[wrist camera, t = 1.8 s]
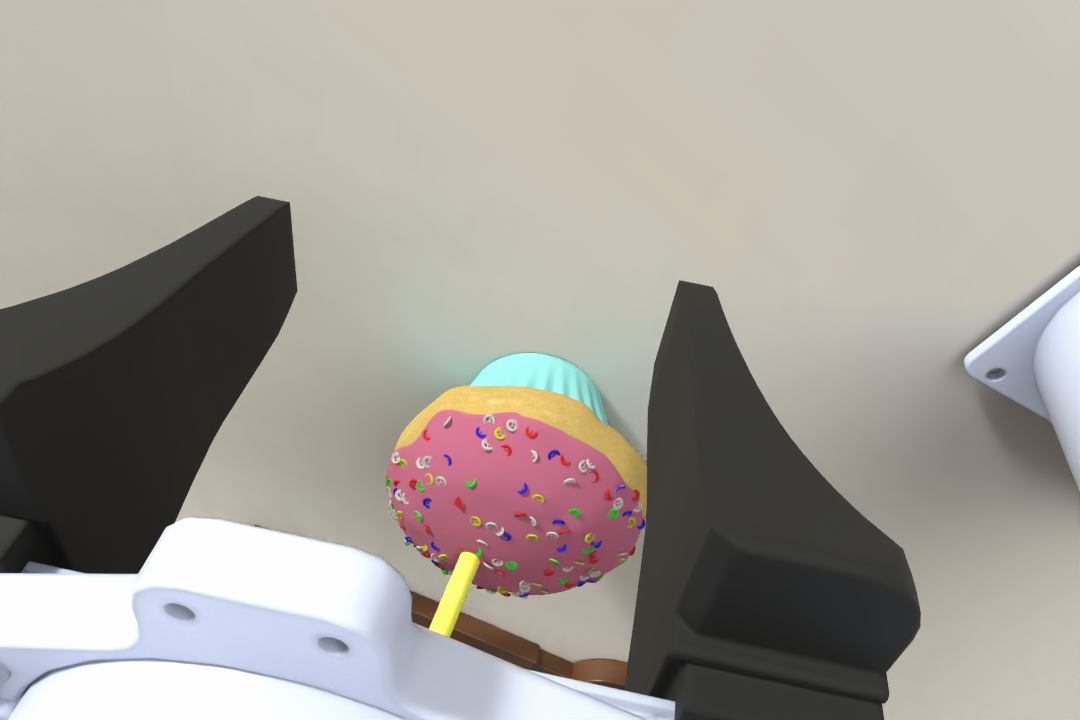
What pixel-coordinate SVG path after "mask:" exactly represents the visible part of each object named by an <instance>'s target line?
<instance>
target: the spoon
mask: <svg viewBox="0 0 1080 720" xmlns="http://www.w3.org/2000/svg"><path fill="white" fill-rule="evenodd" d="M255 526H256V525H255ZM256 527H259V526H256ZM410 593H411V596H412V609H411V617H412V622H413V623H416V624H418V625H421V626H423V627H425V628H428V629H429V628H430V625H431V623H432V621H433V618H434V616H435V613H436V611H437V609H438V606H439V604H440V603H437V602H435V601H433V600H430V599H428V598H426V597H423V596H421V595H419V594H416V593H414V592H412V591H410ZM450 638H452V639H454V640H457V641H459V642H461V643H464V644H466V645H469V646H471V647H473V648H476V649H478V650H481V651H483V652H486V653H488V654H490V655H493V656H495V657H498V658H500V659H502V660H505V661H507V662H510V663H512V664H514V665H517V666H519V667H522V668H524V669H527V670H532V671H537V672H541V673H546V674H550V675H555V676H560V677H564V678H569V679H573V680H578V681H583V682H587V683H592V684H596V685H601V686H606V687H610V688H615V689H619V690H624V686H625V680H626V673H627V666H628V663H624V662H620V661H614V660H605V659H594V660H585V661H581V662H578V663H575V664H573V663H571V662H569V661H566V660H564V659H561V658H559V657H557V656H554V655H552V654H550V653H547V652H545V651H543V650H540V649H539V645H536V644H534V643H532V642H529V641H527V640H525V639H522V638H520V637H517V636H515V635H513V634H510V633H508V632H506V631H503V630H501V629H499V628H496V627H494V626H492V625H489V624H487V623H485V622H482V621H480V620H477V619H475V618H473V617H470V616H468V615H466V614H463V613H461V612H460V613H459V616H458V618H457V621H456V623H455V626H454V628H453V631H452V633H451V636H450Z"/></svg>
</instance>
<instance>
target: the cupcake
mask: <svg viewBox="0 0 1080 720" xmlns="http://www.w3.org/2000/svg"><path fill="white" fill-rule="evenodd" d="M386 485H387V486H388V487H387V492H388V495H389V497H390V503H389V507H388V508H389V509H390V507H391V504H392V507H393V510H392V511H391V516H392V517H393V518H394V519H396V520H397V522H398V523H399V525H400V527H401V528H402V529H403V531H404V532H405V534H406V537H405V542H404V543H405V545H410V544H411V543H413V544H414V547H416V549H417V550H418V551H420V553H421V555H423V556H425V557H426V558H431V559H432V560H431V561H432V562H433V563H434V565H435V566H437V567H439V568H441V571H442V573H443V574H445V575H448V574H449V575H452V576H451V578H450V580H449V583H448V585H447V588H446V590H445V592H444V595H443V597H442V599H441V602H440V604H439V606H438V609H437V611H436V613H435V616H434V618H433V621H432V623H431V625H430V628H429V629H430V630H433V631H435V632H437V633H440V634H442V635H445V636H447V637H449V638H450V636H451V633H452V631H453V628H454V626H455V623H456V621H457V618H458V616H459V613H460V611H461V608H462V606H463V603H464V601H465V598H466V596H467V594H468V591H469V589H470V586H471V584H475V585H477V587H476V588H477V589H486V591H487V592H489V593H491V594H494V593H496V591H498V592H499V593H501V594H502V595H504V596H507V597H509V596H510V595H511V594H513V595H515V596H517V597H521V598H524V599H526V598H527V595H544V594H551V593H557V592H562V591H565V590H568V589H571V588H574V587H577V586H578V587H580V586H582V585H583V584H584V583H586V582H591V583H595V582H597V581H599V580H600V579H601V578H602V577H603V575H604V574H605V573H607V572H609V571H610V570H612V569H614V568H615V567H617V566H618V565H620V564H622V563H624V562H625V560H626V559H627V558H628V557H629V555H631V556H632V555H633V553H634V551H635V543H636V541H637V538H638V536H639V534H640V531H641V529H642V528H644V526H645V520H644V519H645V516H646V511H647V465H646V463H645V461H644V459H643V458H642V456H641V455H640V454H639V453H638V452H637V451H636V450H635V449H634V448H633V447H632V446H631V445H630V444H629V442H628V441H627V440H626V439H625V438H624V437H623V436H622V435H621V434H620V433H619V432H617V431H616V430H614V429H613V428H611V427H609V424H608V421H607V417H606V413H605V409H604V405H603V401H602V397H601V395H600V392H599V390H598V388H597V387H596V385H595V384H594V382H593V381H592V380H591V379H590V378H589V377H588V376H587V375H586V374H585V373H584V372H583V371H581V370H580V369H579V368H577V367H576V366H574V365H572V364H570V363H568V362H566V361H564V360H562V359H559V358H556V357H553V356H549V355H544V354H537V353H520V354H513V355H509V356H505V357H503V358H500V359H498V360H496V361H494V362H492V363H491V364H489V365H488V366H487V367H485V368H484V369H483V370H482V371H481V372H480V374H479V375H478V376H477V377H476V379H475V380H474V381H473V382H472V383H471V385H470V386H458V387H454V388H451V389H449V390H447V391H446V392H444V393H443V394H442V395H441V396H439V397H438V398H437V399H436V400H435V401H434V402H433V403H431V404H430V405H429V406H428V407H426V408H425V409H424V410H423V411H421V412H420V413H419V414H418V415H417V416H416V417H415V418H414V419H413V420H412V421H411V422H410V423H409V425H408V426H407V427H406V428H405V429H404V431H403V432H402V434H401V436H400V438H399V440H398V442H397V444H396V447H395V450H394V452H393V454H392V456H391V458H390V462H389V466H388V473H387V476H386ZM393 513H394V514H395V516H394V514H393ZM408 542H409V543H408ZM444 570H446V571H447V572H445V571H444ZM507 594H508V595H507Z"/></svg>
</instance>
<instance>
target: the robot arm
mask: <svg viewBox="0 0 1080 720" xmlns="http://www.w3.org/2000/svg"><path fill="white" fill-rule="evenodd" d="M296 293H297V282H296V271H295V259H294V247H293V235H292V224H291V212H290V202H285V201H280V200H275V199H270V198H265V197H260V196H256V197H254V198H252V199H250V200H248V201H246V202H244V203H243V204H241V205H239V206H237V207H235V208H234V209H232V210H230V211H228V212H226V213H225V214H223V215H221V216H219V217H218V218H216V219H214V220H212V221H211V222H209V223H207V224H205V225H204V226H202V227H200V228H198V229H196V230H194V231H193V232H191V233H189V234H187V235H185V236H184V237H182V238H180V239H178V240H176V241H175V242H173V243H171V244H169V245H167V246H165V247H163V248H161V249H159V250H157V251H155V252H153V253H151V254H149V255H147V256H145V257H142V258H140V259H138V260H136V261H134V262H132V263H130V264H128V265H126V266H124V267H122V268H120V269H117V270H115V271H113V272H110V273H108V274H106V275H103V276H101V277H98V278H96V279H93V280H91V281H88V282H85V283H83V284H80V285H77V286H75V287H72V288H69V289H66V290H64V291H60V292H57V293H54V294H51V295H47V296H44V297H41V298H38V299H34V300H31V301H28V302H25V303H21V304H18V305H15V306H11V307H8V308H4V309H0V720H884V715H883V708H882V703H884V704H885V702H886V701H887V700H888V697H889V688H888V682H887V675H886V672H887V671H888V670H889V668H890V667H891V666H892V665H893V664H894V662H895V661H896V660H897V659H898V657H899V656H900V655H901V654H902V653H903V651H904V650H905V649H906V648H907V647H908V645H909V644H910V643H911V642H912V641H913V639H914V637H915V635H916V634H917V632H918V630H919V628H920V616H921V612H920V607H919V602H918V597H917V592H916V588H915V584H914V581H913V577H912V574H911V571H910V568H909V566H908V563H907V560H906V557H905V554H904V550H903V549H902V548H901V547H900V546H899V545H897V544H896V543H895V542H894V541H893V540H891V539H890V538H889V537H888V536H887V535H885V534H884V533H883V532H882V531H881V530H879V529H878V528H877V527H876V526H875V525H873V524H872V523H871V522H870V521H868V520H867V519H866V518H865V517H864V516H863V515H861V514H860V513H859V512H858V511H857V510H856V509H855V508H854V507H853V506H852V505H851V504H850V503H849V502H848V501H847V500H846V499H845V498H844V497H843V496H841V495H840V494H839V493H838V492H837V491H836V490H835V489H834V488H833V487H832V485H831V484H830V483H829V482H828V481H827V480H826V479H825V478H824V477H823V476H822V475H821V474H820V473H819V471H818V470H817V469H816V468H815V467H814V466H813V464H812V463H811V462H810V461H809V460H808V459H807V458H806V456H805V455H804V454H803V453H802V452H801V450H800V449H799V448H798V447H797V445H796V444H795V443H794V442H793V440H792V439H791V438H790V436H789V435H788V433H787V432H786V431H785V429H784V428H783V426H782V425H781V424H780V422H779V421H778V419H777V418H776V416H775V414H774V413H773V411H772V410H771V408H770V406H769V405H768V403H767V402H766V400H765V398H764V396H763V395H762V393H761V391H760V389H759V388H758V386H757V384H756V382H755V380H754V379H753V377H752V375H751V373H750V371H749V369H748V367H747V365H746V363H745V361H744V359H743V357H742V354H741V352H740V350H739V348H738V346H737V344H736V342H735V339H734V337H733V335H732V332H731V330H730V327H729V325H728V323H727V320H726V317H725V315H724V312H723V310H722V307H721V304H720V301H719V298H718V295H717V293H716V291H715V290H714V288H713V287H710V286H705V285H700V284H695V283H690V282H685V281H680V280H679V283H678V286H677V290H676V293H675V296H674V300H673V303H672V306H671V310H670V313H669V317H668V320H667V323H666V327H665V330H664V333H663V337H662V340H661V343H660V347H659V350H658V354H657V357H656V360H655V364H654V371H653V378H652V384H651V392H650V399H649V406H648V434H647V511H646V527H645V537H644V546H643V554H642V562H641V570H640V578H639V586H638V593H637V601H636V609H635V616H634V624H633V631H632V638H631V645H630V652H629V659H628V666H627V673H626V680H625V686H624V690H619V689H615V688H610V687H606V686H601V685H596V684H592V683H587V682H583V681H578V680H573V679H569V678H564V677H560V676H555V675H550V674H546V673H541V672H537V671H532V670H527V669H524V668H522V667H519V666H517V665H514V664H512V663H510V662H507V661H505V660H502V659H500V658H498V657H495V656H493V655H490V654H488V653H486V652H483V651H481V650H478V649H476V648H473V647H471V646H469V645H466V644H464V643H461V642H459V641H457V640H454V639H452V638H449V637H447V636H445V635H442V634H440V633H437V632H435V631H433V630H430V629H428V628H425V627H423V626H421V625H418V624H416V623H413V622H412V617H411V609H412V596H411V593H410V591H409V588H408V586H407V583H406V581H405V578H404V577H403V576H402V574H401V573H399V572H398V571H397V570H396V569H394V568H393V567H392V566H391V565H389V564H388V563H387V562H386V561H384V560H383V559H382V558H381V557H378V556H375V555H373V554H370V553H367V552H364V551H362V550H359V549H356V548H354V547H350V546H345V545H340V544H335V543H331V542H326V541H321V540H317V539H312V538H307V537H303V536H298V535H293V534H289V533H284V532H279V531H275V530H270V529H265V528H261V527H256V526H251V525H247V524H242V523H237V522H233V521H228V520H223V519H219V518H200V517H189V518H184V519H182V520H180V521H178V522H176V523H175V521H176V519H177V516H178V514H179V512H180V510H181V507H182V505H183V503H184V501H185V498H186V496H187V494H188V492H189V489H190V487H191V485H192V483H193V480H194V478H195V476H196V474H197V472H198V470H199V468H200V466H201V464H202V462H203V460H204V458H205V455H206V453H207V451H208V449H209V447H210V445H211V443H212V441H213V439H214V437H215V435H216V434H217V432H218V430H219V428H220V427H221V425H222V423H223V421H224V420H225V418H226V417H227V415H228V414H229V412H230V410H231V409H232V407H233V406H234V404H235V403H236V401H237V399H238V398H239V396H240V395H241V393H242V392H243V390H244V388H245V387H246V385H247V384H248V382H249V381H250V379H251V377H252V376H253V374H254V373H255V371H256V370H257V368H258V366H259V365H260V363H261V362H262V360H263V358H264V357H265V355H266V354H267V352H268V350H269V349H270V347H271V346H272V344H273V342H274V341H275V339H276V337H277V336H278V334H279V332H280V330H281V327H282V325H283V323H284V321H285V319H286V316H287V314H288V312H289V309H290V307H291V305H292V302H293V300H294V297H295V295H296ZM963 363H964V366H965V369H966V372H967V374H968V375H969V376H970V377H972V378H974V379H976V380H978V381H979V382H981V383H983V384H985V385H986V386H988V387H990V388H992V389H993V390H995V391H997V392H999V393H1001V394H1002V395H1004V396H1006V397H1008V398H1009V399H1011V400H1013V401H1015V402H1016V403H1018V404H1020V405H1022V406H1024V407H1025V408H1027V409H1029V410H1031V411H1032V412H1034V413H1036V414H1038V415H1040V416H1041V417H1043V418H1045V419H1047V420H1048V421H1050V422H1052V425H1053V427H1054V430H1055V432H1056V435H1057V437H1058V440H1059V442H1060V445H1061V447H1062V450H1063V452H1064V455H1065V457H1066V460H1067V462H1068V465H1069V467H1070V470H1071V472H1072V475H1073V477H1074V480H1075V482H1076V485H1077V487H1078V490H1079V492H1080V266H1078V267H1077V268H1076V269H1074V270H1073V271H1072V272H1071V273H1069V274H1068V275H1067V276H1066V277H1064V278H1063V279H1062V280H1061V281H1059V282H1058V283H1057V284H1056V285H1054V286H1053V287H1052V288H1050V289H1049V290H1048V291H1047V292H1045V293H1044V294H1043V295H1042V296H1040V297H1039V298H1038V299H1037V300H1035V301H1034V302H1033V303H1032V304H1030V305H1029V306H1028V307H1026V308H1025V309H1024V310H1023V311H1021V312H1020V313H1019V314H1018V315H1016V316H1015V317H1014V318H1013V319H1011V320H1010V321H1009V322H1008V323H1006V324H1005V325H1004V326H1002V327H1001V328H1000V329H999V330H997V331H996V332H995V333H994V334H992V335H991V336H990V337H989V338H987V339H986V340H985V341H984V342H982V343H981V344H980V345H978V346H977V347H976V348H975V349H973V350H972V351H971V352H970V353H968V355H967V356H966V357H965V359H964V362H963ZM993 369H1000V370H999V371H997V372H993V373H989V371H991V370H993Z"/></svg>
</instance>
